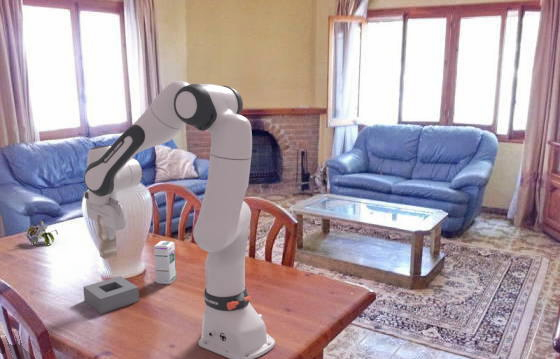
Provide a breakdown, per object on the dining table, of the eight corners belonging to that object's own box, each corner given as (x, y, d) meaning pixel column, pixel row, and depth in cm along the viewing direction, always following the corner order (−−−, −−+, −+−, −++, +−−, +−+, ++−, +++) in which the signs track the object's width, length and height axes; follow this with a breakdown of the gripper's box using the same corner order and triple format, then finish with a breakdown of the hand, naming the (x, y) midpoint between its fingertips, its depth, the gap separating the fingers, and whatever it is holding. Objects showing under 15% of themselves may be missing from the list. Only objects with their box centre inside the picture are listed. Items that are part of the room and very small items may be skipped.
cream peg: (117, 256, 161) (114, 215, 158) (105, 259, 158) (102, 217, 155) (111, 253, 164) (108, 212, 161) (99, 256, 161) (96, 215, 158)
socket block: (139, 301, 164) (138, 287, 163) (101, 313, 155) (100, 299, 154) (120, 289, 173) (120, 276, 172) (84, 300, 164) (83, 286, 163)
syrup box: (170, 284, 177) (168, 246, 174) (155, 283, 178) (153, 245, 176) (176, 278, 183) (175, 241, 180) (162, 277, 184) (160, 240, 181)
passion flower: (34, 256, 220) (17, 235, 219) (53, 245, 229) (38, 224, 228) (44, 247, 214) (28, 224, 213) (64, 235, 223) (48, 214, 222)
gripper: (129, 199, 152) (131, 242, 155) (100, 189, 166) (102, 228, 169) (109, 203, 147) (112, 247, 150) (81, 192, 162) (84, 232, 165)
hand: (107, 237), depth 160 cm, fingers closed on cream peg, 4 cm apart
